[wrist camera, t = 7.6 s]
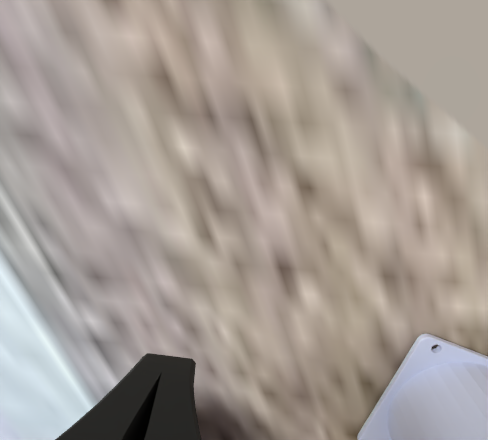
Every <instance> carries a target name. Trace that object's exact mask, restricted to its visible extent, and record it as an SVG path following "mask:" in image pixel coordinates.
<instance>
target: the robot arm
mask: <svg viewBox="0 0 488 440" xmlns="http://www.w3.org/2000/svg"><path fill="white" fill-rule="evenodd" d="M436 344H437V345H438V346H437V347H436V348H434V349H432V346H434V345H436ZM195 365H196V363H195V362H194V361H193V359H189V358H181V357H173V356H165V355H157V354H149V353H148V354H146V355H145V356H143V357H142V359H141V360H140V361H139V362H138V363H137V364H136V365H135V366H134V367H133V369H132V370H131V371H130V372H129V373H128V374H127V375H126V376H125V377H124V378H123V379H122V380H121V381H120V382H119V383H118V384H117V385H116V386H115V387H114V388H113V389H112V390H111V391H110V392H109V393H108V394H107V395H106V396H105V397H104V398H103V399H102V400H101V401H100V402H99V403H98V404H97V405H95V406H94V407H93V408H92V409H91V410H90V411H89V412H88V413H86V414H85V415H84V416H83V417H82V418H81V419H80V420H78V421H77V422H76V423H75V424H74V425H73V426H72V427H70V428H69V429H68V430H67V431H65V432H64V433H63V434H62V435H61V436H59V437H58V438H57V439H55V440H201V436H200V432H199V427H198V421H197V415H196V408H195V400H194V387H193V385H194V375H195ZM357 439H358V440H488V356H485V355H483V354H480V353H478V352H475V351H472V350H470V349H467V348H465V347H462V346H459V345H457V344H454V343H452V342H449V341H446V340H444V339H441V338H439V337H436V336H433V335H431V334H422V335H420V336H419V337H418V338H417V339H416V341H415V343H414V344H413V346H412V348H411V349H410V351H409V352H408V354H407V356H406V357H405V359H404V361H403V362H402V364H401V365H400V367H399V369H398V370H397V372H396V373H395V375H394V377H393V378H392V380H391V382H390V383H389V385H388V386H387V388H386V390H385V391H384V393H383V395H382V396H381V398H380V399H379V401H378V403H377V404H376V406H375V407H374V409H373V411H372V412H371V414H370V416H369V417H368V419H367V420H366V422H365V424H364V425H363V427H362V429H361V430H360V432H359V433H358V436H357Z"/></svg>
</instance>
